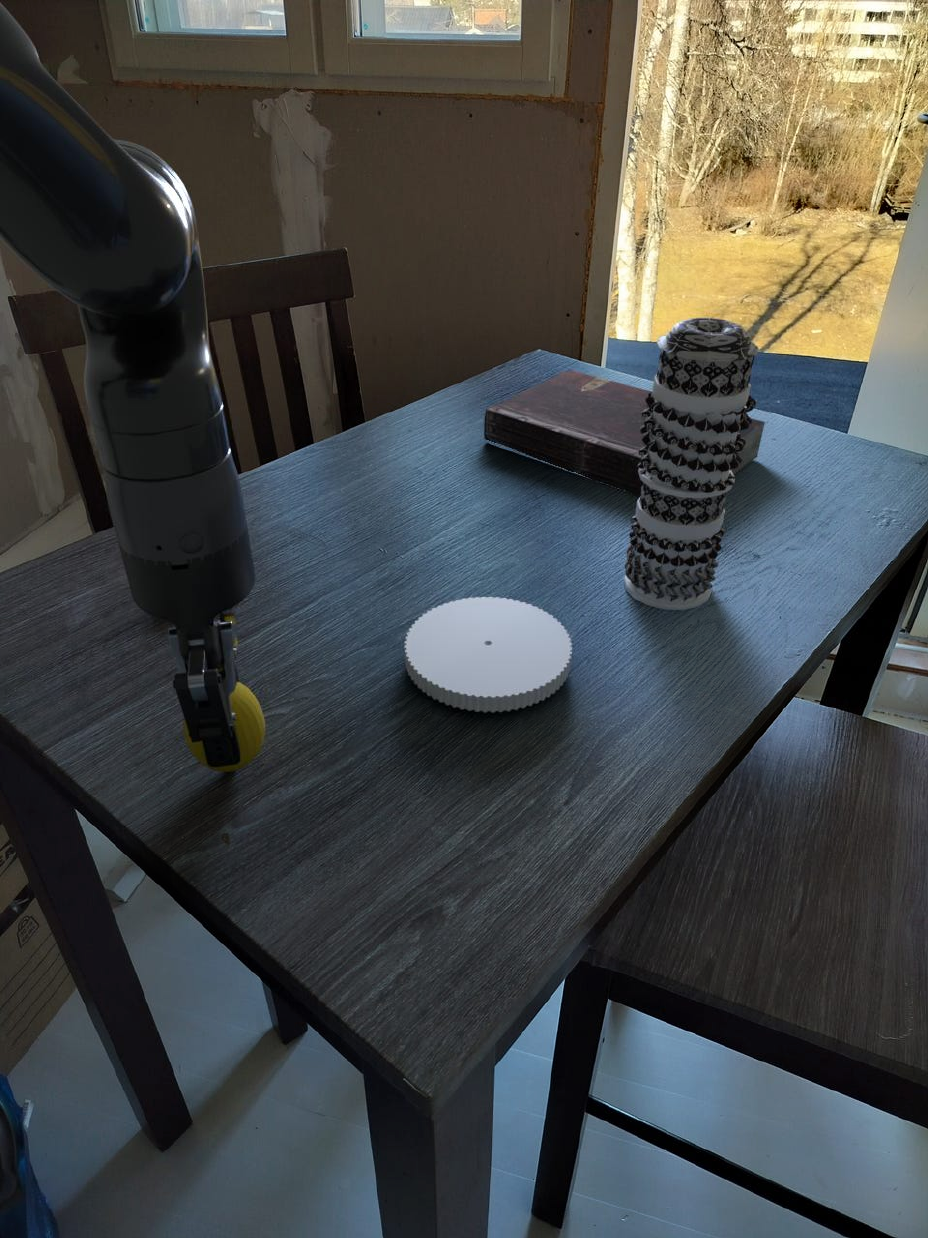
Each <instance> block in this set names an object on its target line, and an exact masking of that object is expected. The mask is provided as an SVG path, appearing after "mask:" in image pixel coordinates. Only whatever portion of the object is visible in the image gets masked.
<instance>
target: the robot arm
mask: <svg viewBox="0 0 928 1238" xmlns="http://www.w3.org/2000/svg"><path fill="white" fill-rule="evenodd" d="M0 239H1V241H2V242H3V243H4V244H5V245H6V246H7V247H8V248H9V249H10V250H11V251H12V252H13V254H15V255H16V256H17V257H18V258H19V259H20V260H21V261H22V262H23V264H25V266H27V267H28V268H29V269H30V270H31V271H32V272H33V273H34V274H35V275H36V276H38V277H39V278H40V279H41V280H42V281H44V282H45V283H46V284H47V285H48V286H49V287H51V288H52V289H54V290H55V291H56V292H57V293H59V294H61V295H62V296H64V297H65V298H66V299H68V300H69V301H71V302H73V303H75V304H76V305H77V308H78V312H79V316H80V317H79V318H80V322H81V325H82V330H83V332H84V333H83V334H84V337H85V345H86V356H85V357H86V358H85V365H84V373H83V384H84V385H83V386H84V387H83V388H84V395H85V401H86V406H87V410H88V414H89V419H90V424H91V428H92V431H93V434H94V439H95V443H96V446H97V451H98V454H99V458H100V462H101V465H102V470H103V475H104V483H105V493H106V494H105V495H106V501H107V507H108V510H109V514H110V518H111V521H112V525H113V529H114V532H115V536H116V540H117V544H118V548H119V553H120V556H121V559H122V563H123V567H124V571H125V575H126V578H127V582H128V585H129V589H130V594H131V596H132V599H133V601H134V604H136V605H137V607H138V608H139V609H140V610H141V611H142V612H144V613H146V614H148V615H150V616H152V617H155V618H159V619H161V620H165V621H167V622H169V623H171V624H173V625H174V627H169V628H168V629H167V636H168V643H169V650H170V654H171V655H172V656H173V657H174V658H175V662H176V663H175V664H176V668H177V673H174V676H173V677H174V679H173V680H172V687H173V689H175V693H176V697H177V699H178V702H179V705H180V706H179V707H180V710H181V712H182V715H183V719H184V718H185V722H186V725H187V728H188V732H189V737H190V738H191V741H192V742H200V741H202V743H203V748H204V752H205V756H206V760H207V764H208V765H209V766H210V767H222V766H230V765H236V764H238V763H239V762H240V757H241V752H240V747H239V742H238V737H237V732H236V727H235V722H234V720H236V714H235V713H234V712H233V705H232V698H231V693H232V692H234V690H235V688H236V685H237V682H239V683H241V682H240V678H239V671H238V667H237V663H236V662H237V656H238V655H239V651H238V647H237V646H238V645H239V629H238V625H237V612H236V611H237V610H236V607H237V605H239V604H240V603H242V602H243V601H244V600H245V599H246V598H247V597H248V596H249V594H250V593H251V592H252V590H253V588H254V586H255V583H256V571H255V565H254V559H253V552H252V546H251V540H250V533H249V528H248V522H247V521H248V520H247V516H246V509H245V504H244V503H245V502H244V497H243V491H242V486H241V481H240V478H239V474H238V471H237V468H236V465H235V462H234V459H233V455H232V450H231V446H230V445H231V444H230V440H229V434H228V428H227V422H226V421H227V420H226V415H225V410H224V404H223V398H222V397H223V396H222V393H221V388H220V384H219V380H218V377H217V374H216V369H215V365H214V361H213V356H212V353H211V347H210V339H209V338H210V337H209V336H210V335H209V324H208V311H207V300H206V290H205V279H204V270H203V261H202V252H201V246H200V245H201V244H200V243H201V242H200V236H199V229H198V224H197V218H196V213H195V209H194V206H193V202H192V200H191V197H190V195H189V192H188V190H187V189H186V187H185V184H184V183H183V181H182V180H181V178H180V176H179V175H178V174H177V173H176V172H175V170H174V169H173V168H172V167H171V166H170V165H169V164H168V163H167V162H166V161H165V160H164V159H163V158H161V157H160V156H159V155H157V154H156V153H155V152H153V151H152V150H150V149H148V148H147V147H144V146H142V145H140V144H137V143H134V142H132V141H129V140H123V139H117V138H116V139H113V138H112V136H110V135H109V134H108V132H106V131H105V129H104V128H102V126H100V125H99V123H98V122H97V121H96V120H95V119H93V117H92V116H91V115H90V114H89V113H88V112H87V111H86V110H85V109H84V108H83V107H82V106H81V105H80V104H79V103H78V102H77V100H75V99H74V98H73V97H72V96H71V95H70V94H69V93H68V91H67V90H65V89H64V87H62V85H61V84H60V83H59V82H58V81H57V80H56V79H55V78H54V77H53V76H52V75H51V74H50V73H49V71H48V70H47V69H46V68H45V67H44V65H43V64H42V62H41V61H40V57H39V54H38V51H37V48H36V47H35V44H34V43H33V41H32V40H31V39H30V37H29V35H28V34H27V32H26V31H25V30H24V28H23V27H22V26H21V25H20V23H19V22H18V21H17V20H16V19H15V18H14V16H13V15H12V14H11V13H10V12H9V11H8V9H7V8H6V7H5V6H4V5H3V4H2V3H1V2H0Z"/></svg>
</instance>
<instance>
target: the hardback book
mask: <svg viewBox="0 0 928 1238" xmlns="http://www.w3.org/2000/svg"><path fill="white" fill-rule="evenodd" d="M649 393H651V397H654V396H653V393H652V391H651V390H647V389H644V388H640V387H637V386H632V385H629V384H624V383H621V382H617V381H613V380H609V379H607V378H602V377H598V376H595V375H591V374H587V373H584V372H580V371H576V370H572V369H568V370H565V371H563V372H561V373H559V374H557V375H554V376H552V377H550V378H549V379H546V380H544V381H542V382H540V383H538V384H536V385H534V386H531V387H530V388H528V389H526V390H524V391H521V392H519V393H517V394H515V395H513V396H510V397H509V398H507V399H505V400H502V401H500V402H499V403H496V404H494V405H492V406H490V407H488V408H486V409H485V413H484V420H483V421H484V422H483V423H484V424H483V425H484V426H483V436H484V438H483V439H484V440H485V439H486V440H489V441H491V442H494V443H498V444H501V445H504V446H506V447H509V448H512V449H515V450H517V451H519V452H522V453H525V454H526V455H529V456H532V457H534V458H537V459H539V460H543V461H545V462H548V463H550V464H553V465H555V466H558V467H561V468H564V469H566V470H568V471H571V472H576V473H578V474H581V475H583V476H585V477H588V478H590V479H592V480H591V481H593V480H595V481H594V482H596V481H598V482H597V483H599V482H602V483H604V484H603V485H605V484H608V485H610V486H613V487H616V488H619V489H621V490H620V491H622V490H625V491H627V492H626V493H628V492H629V493H628V494H631V493H632V494H631V495H634V496H636V495H637V497H639V496H641V485H642V482H643V481H642V480H641V479H640V476H639V473H638V470H639V467H637V466H638V464H639V463H640V459H641V456H640V455H639V449H640V448H642V447H643V442H642V440H641V436H642V435H643V434H641V432H640V429H641V427H642V426H643V425H644V420H645V419H644V418H643V417H642V412H643V410H645V409H646V404H647V403H646V402H645V396H646V395H647V394H649ZM654 399H655V398H654ZM650 416H653V414H652V413H650ZM750 418H751V417H750ZM751 419H752V423H751V424H750V425H749V428H748V429H746V430H742V431H738V432H737V433H739V434H740V435H741V436H742V438H744V439H745V440H746V444H745V446H744V448H743V450H742V451H739V452H737V453H738V454H739V456H740V457H741V458H742V462H741V463H740V464H739V467H737V468H735V469H731V471H732V473H733V475H734V476H735V475H736V474H737V473H738V472H740V471H741V470H742V469H743V468H745V467H746V466H748V465H749V464H750V463H751V462H753V461H754V460H755V459H756V458H758V455H759V450H760V446H761V441H762V436H763V431H764V428H765V423H766V422H765V421H763V420H758V419H755V418H751ZM649 431H651V429H649ZM649 431H648V432H649ZM649 434H650V433H649ZM647 453H648V450H647ZM590 479H589V480H590ZM602 483H601V484H602ZM610 486H609V487H610ZM613 487H612V488H613ZM616 488H615V489H616ZM619 489H618V490H619ZM625 491H624V492H625Z"/></svg>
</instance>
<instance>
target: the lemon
mask: <svg viewBox="0 0 928 1238" xmlns="http://www.w3.org/2000/svg"><path fill="white" fill-rule="evenodd" d="M239 682H240V681H239ZM239 682H237V685H236V688H235V690H234V692H232V693H231V698H232V705H233V712H234V713H235V714H236V720H234V722H235V727H236V732H237V737H238V742H239V747H240V752H241V757H240V762H239V763H238V764H236V765H230V766H222V767H210V766H209V765H208V764H207V760H206V756H205V752H204V748H203V743H202V741H200V742H192V741H191V738H190V737H189V732H188V728H187V725H186V722H185V718H184V717H183V734H184V739H185V743H186V744H187V746H188V749H189V751H190V753H191V754H192V756H193V757H194V758H195V759H196V760H197V761H198V762H199V764H201V765H202V766H204V767H206V768H207V769H210V770H212V771H216V772H224V773H228V772H229V773H230V772H234V771H237V770H241V769H242V768H245V767H246V766H248V765H249V764H250V763H252V762H253V761H254V760H255V758H256V757H257V756H258V755H259V753H260V752H261V749H262V747H263V745H264V742H265V738H266V737H265V736H266V735H265V734H266V721H265V717H264V716H265V715H264V713H263V710H262V707H261V705H260V702H259V700H258V698H257V697H256V696H255V694H254V693H253V692H252V690H251V689H250V688H249V687H247V686H246V685H245V684H243V683H241V682H240V683H239Z"/></svg>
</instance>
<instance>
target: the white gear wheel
mask: <svg viewBox="0 0 928 1238" xmlns="http://www.w3.org/2000/svg"><path fill="white" fill-rule="evenodd" d="M403 646H404V647H403V648H404V662H405V663H404V665H405V667H406V672H407V675H408V676H409V677H410V680H411V681H413V684H414V685H417V688H418V689H419V690H421V692H422V693H426V696H428V697H432V699H433V700H438V702H439V703H444V704H445V706H452V708H459V709H460V710H467V711H469V712H471V711H474V712H477V713H479V712H482V713H488V712H490V713H496V712H499V713H503V712H504V711H506V712H511V710H514V711H518V710H519V709H520V708H521V709H525V708H526V707H527V706H528V707H531V706H533V704H537V705H538V704H539V703H540V701H541V702H544V701H545V700H546V698H550V697H551V695H554V694H556V691H559V690H560V687H562V686H563V685H564V683H565V682H566V681H567V678H568V677H569V674H570V671H571V668H572V657H573V643H572V639H571V637H570V634H569V633H568V630H567V629H566V627H565V626H564V625H562V622H561V621H558V618H556V617H554V615H553V614H550V613H549V612H548V611H544V609H543V608H539V607H538V606H537V605H534V606H533V605H532V603H527V602H525V601H522V602H521V601H520V600H519V599H516V600H514V599H513V598H509V599H508V598H507V597H500V596H496V597H493V596H489V597H486V596H482V597H479V596H475V597H472V596H471V597H468V598H465V597H463V598H461V599H455V601H453V600H451V601H448V602H447V603H446V602H444V603H442V604H441V605H437V607H433V608H431V610H427V611H426V613H422V614H421V616H419V617H418V618H417V620H414V623H412V624H411V626H410V627H409V628H408V632H407V633H406V636H405V638H404V645H403Z"/></svg>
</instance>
